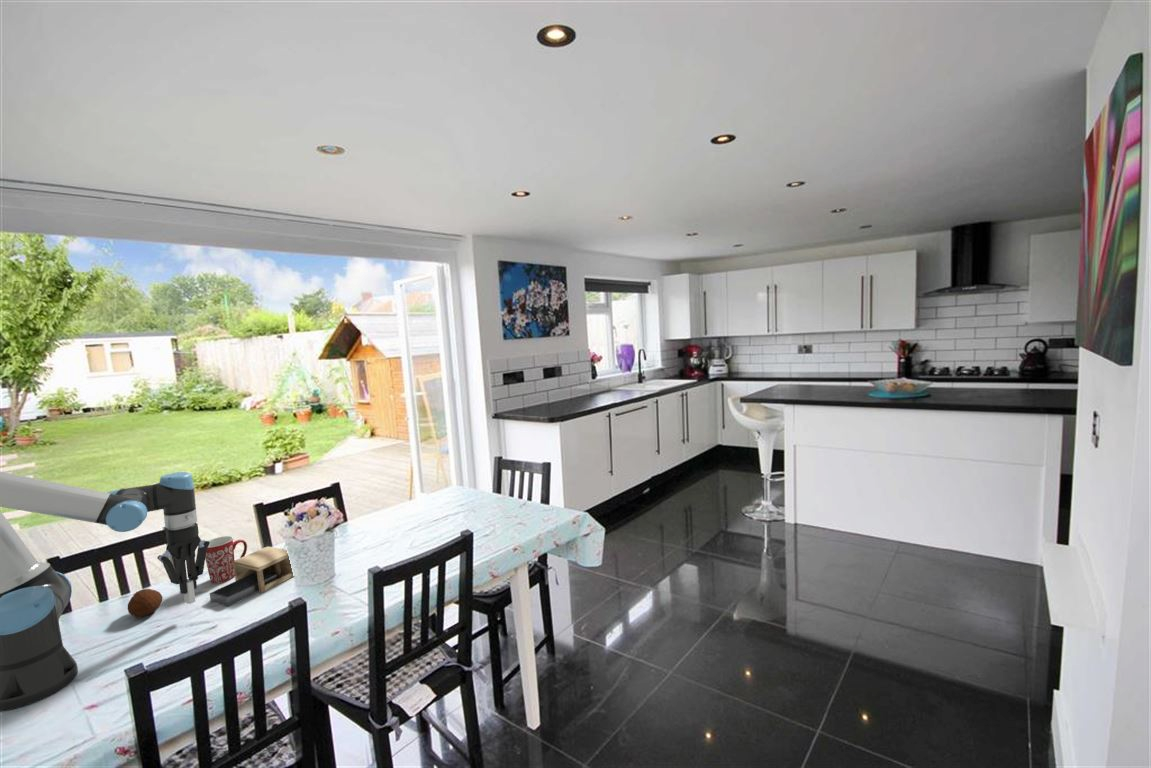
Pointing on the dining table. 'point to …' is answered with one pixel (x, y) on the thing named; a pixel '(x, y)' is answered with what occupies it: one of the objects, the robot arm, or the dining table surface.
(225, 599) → the tray
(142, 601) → the potato
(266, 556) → the shelf
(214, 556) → the mug
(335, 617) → the dining table surface
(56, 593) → the robot arm
